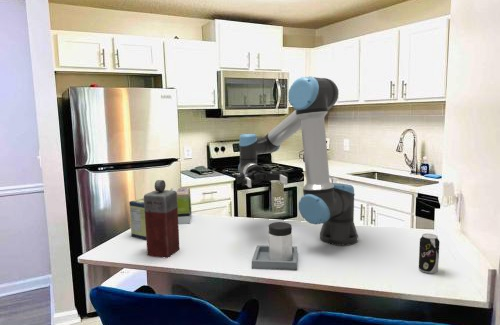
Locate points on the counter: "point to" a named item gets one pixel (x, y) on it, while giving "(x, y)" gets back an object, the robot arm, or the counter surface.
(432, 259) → the beverage can
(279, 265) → the tray
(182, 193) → the tea box
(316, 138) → the robot arm
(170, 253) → the red square bottle
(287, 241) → the jar
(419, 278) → the counter surface
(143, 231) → the protein box
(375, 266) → the counter surface
